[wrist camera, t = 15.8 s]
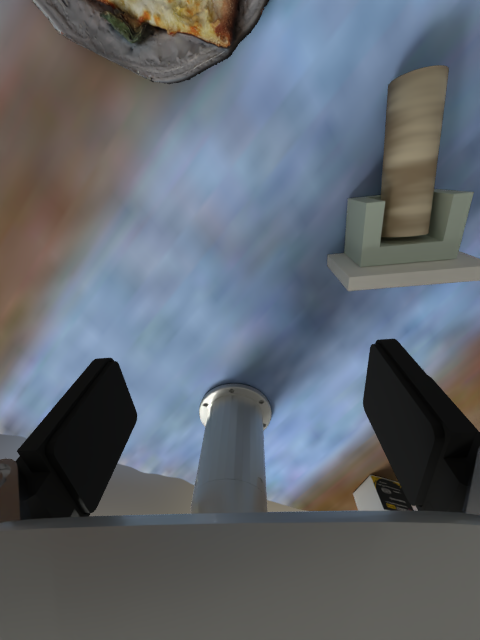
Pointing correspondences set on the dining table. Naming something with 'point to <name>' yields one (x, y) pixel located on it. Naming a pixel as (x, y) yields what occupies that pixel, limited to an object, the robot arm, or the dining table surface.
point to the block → (377, 250)
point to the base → (403, 272)
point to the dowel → (412, 150)
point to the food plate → (156, 32)
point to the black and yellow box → (381, 495)
